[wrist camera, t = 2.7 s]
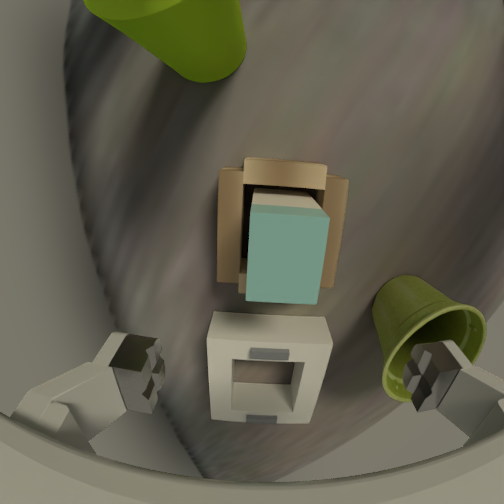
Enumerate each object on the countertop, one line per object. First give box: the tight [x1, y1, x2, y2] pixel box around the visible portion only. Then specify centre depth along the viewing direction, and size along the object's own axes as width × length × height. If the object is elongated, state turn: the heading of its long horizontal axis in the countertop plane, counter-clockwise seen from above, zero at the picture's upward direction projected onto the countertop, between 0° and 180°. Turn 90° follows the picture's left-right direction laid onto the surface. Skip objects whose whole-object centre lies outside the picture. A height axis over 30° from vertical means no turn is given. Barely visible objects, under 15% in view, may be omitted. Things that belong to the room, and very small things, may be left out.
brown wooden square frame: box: [217, 157, 349, 293], centre depth 21 cm, size 9×10×3 cm
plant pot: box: [372, 275, 487, 402], centre depth 21 cm, size 9×9×9 cm
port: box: [207, 311, 333, 424], centre depth 26 cm, size 10×11×4 cm
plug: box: [246, 188, 330, 304], centre depth 19 cm, size 4×5×8 cm
